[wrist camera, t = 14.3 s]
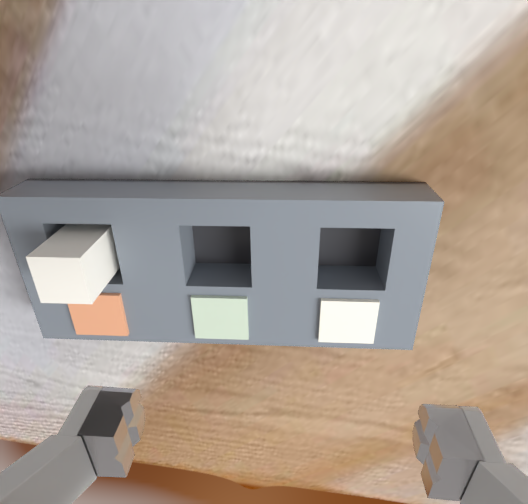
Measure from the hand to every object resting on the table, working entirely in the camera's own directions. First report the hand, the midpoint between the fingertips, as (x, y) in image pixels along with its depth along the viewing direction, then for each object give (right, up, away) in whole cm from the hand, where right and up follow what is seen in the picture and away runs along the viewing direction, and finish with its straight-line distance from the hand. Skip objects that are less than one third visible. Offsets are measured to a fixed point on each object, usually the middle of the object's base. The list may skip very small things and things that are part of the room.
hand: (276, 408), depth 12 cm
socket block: (-4, +4, +25) cm, 26 cm away
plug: (-15, +6, +25) cm, 29 cm away
